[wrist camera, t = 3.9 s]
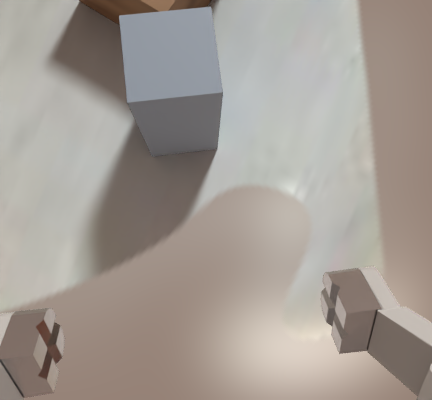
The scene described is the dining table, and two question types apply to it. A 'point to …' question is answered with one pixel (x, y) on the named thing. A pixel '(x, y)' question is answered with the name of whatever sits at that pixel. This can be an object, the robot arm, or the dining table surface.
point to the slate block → (173, 79)
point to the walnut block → (140, 6)
